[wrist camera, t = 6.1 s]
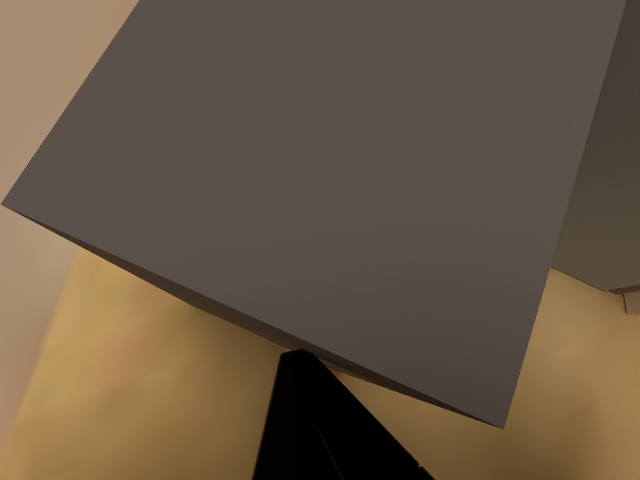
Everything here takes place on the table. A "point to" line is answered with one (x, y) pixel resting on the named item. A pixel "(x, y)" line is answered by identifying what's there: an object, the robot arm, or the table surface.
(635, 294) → the wall frame
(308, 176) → the doorstop block
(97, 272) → the table surface
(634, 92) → the door
